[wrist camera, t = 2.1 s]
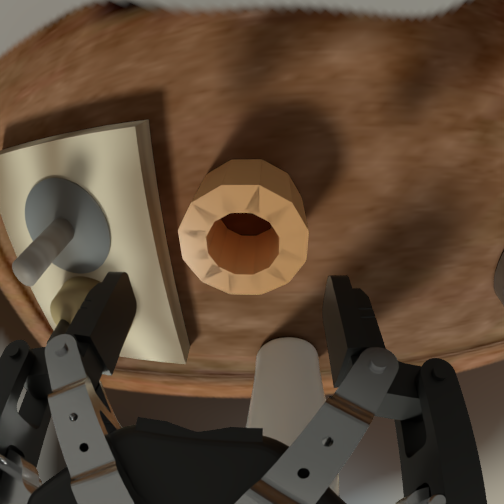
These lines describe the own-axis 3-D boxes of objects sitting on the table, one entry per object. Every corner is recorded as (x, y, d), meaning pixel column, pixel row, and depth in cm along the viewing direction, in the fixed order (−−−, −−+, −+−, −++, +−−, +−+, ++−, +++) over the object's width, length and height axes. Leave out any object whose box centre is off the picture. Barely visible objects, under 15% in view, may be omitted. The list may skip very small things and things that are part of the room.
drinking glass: (341, 348, 26) (362, 516, 13) (289, 382, 29) (290, 528, 16) (283, 315, 24) (283, 516, 11) (233, 356, 27) (213, 520, 14)
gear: (303, 160, 17) (311, 185, 14) (298, 254, 20) (302, 295, 17) (191, 160, 17) (171, 186, 14) (201, 253, 21) (188, 292, 18)
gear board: (148, 119, 16) (85, 154, 10) (190, 346, 26) (173, 414, 21) (1, 149, 17) (-63, 189, 11) (70, 332, 27) (43, 385, 21)
